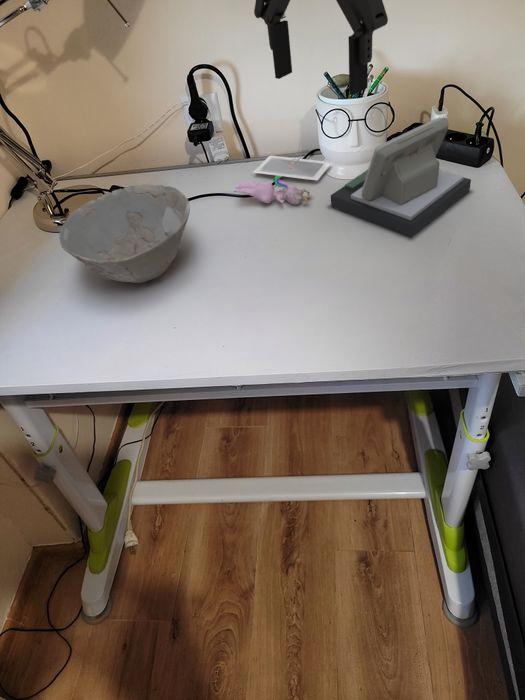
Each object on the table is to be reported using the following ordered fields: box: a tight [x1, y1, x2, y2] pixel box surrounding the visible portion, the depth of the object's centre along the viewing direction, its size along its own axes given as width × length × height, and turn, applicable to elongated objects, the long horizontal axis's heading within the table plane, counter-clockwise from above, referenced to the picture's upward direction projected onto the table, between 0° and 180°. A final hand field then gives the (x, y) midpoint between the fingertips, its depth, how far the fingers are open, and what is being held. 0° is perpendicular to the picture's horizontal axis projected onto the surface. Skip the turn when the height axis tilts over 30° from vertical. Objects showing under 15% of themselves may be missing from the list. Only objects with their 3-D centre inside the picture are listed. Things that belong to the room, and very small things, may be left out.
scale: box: [330, 168, 472, 239], centre depth 94 cm, size 18×18×3 cm
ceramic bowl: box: [58, 184, 191, 284], centre depth 88 cm, size 22×23×10 cm
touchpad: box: [252, 155, 328, 181], centre depth 108 cm, size 8×15×2 cm, turn 62°
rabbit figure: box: [233, 175, 311, 206], centre depth 99 cm, size 6×6×15 cm
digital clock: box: [362, 117, 450, 205], centre depth 88 cm, size 16×9×11 cm, turn 112°
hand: (319, 83), depth 69 cm, fingers open, 13 cm apart
